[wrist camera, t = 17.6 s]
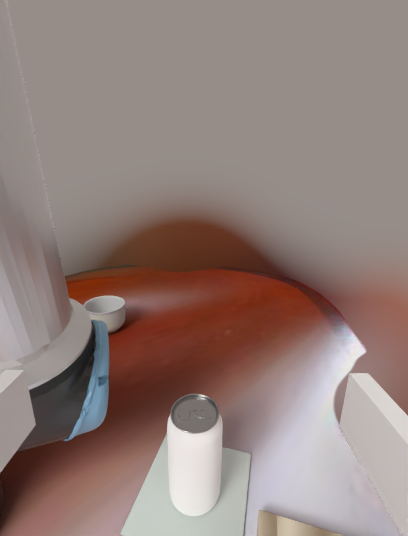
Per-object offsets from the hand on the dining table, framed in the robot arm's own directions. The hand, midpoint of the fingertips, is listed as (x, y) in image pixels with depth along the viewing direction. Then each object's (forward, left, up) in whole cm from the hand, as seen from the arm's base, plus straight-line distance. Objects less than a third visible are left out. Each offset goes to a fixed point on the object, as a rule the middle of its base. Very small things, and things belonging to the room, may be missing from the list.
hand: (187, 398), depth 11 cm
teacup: (-41, +47, -28) cm, 68 cm away
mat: (-4, +15, -28) cm, 32 cm away
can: (-4, +15, -28) cm, 32 cm away
